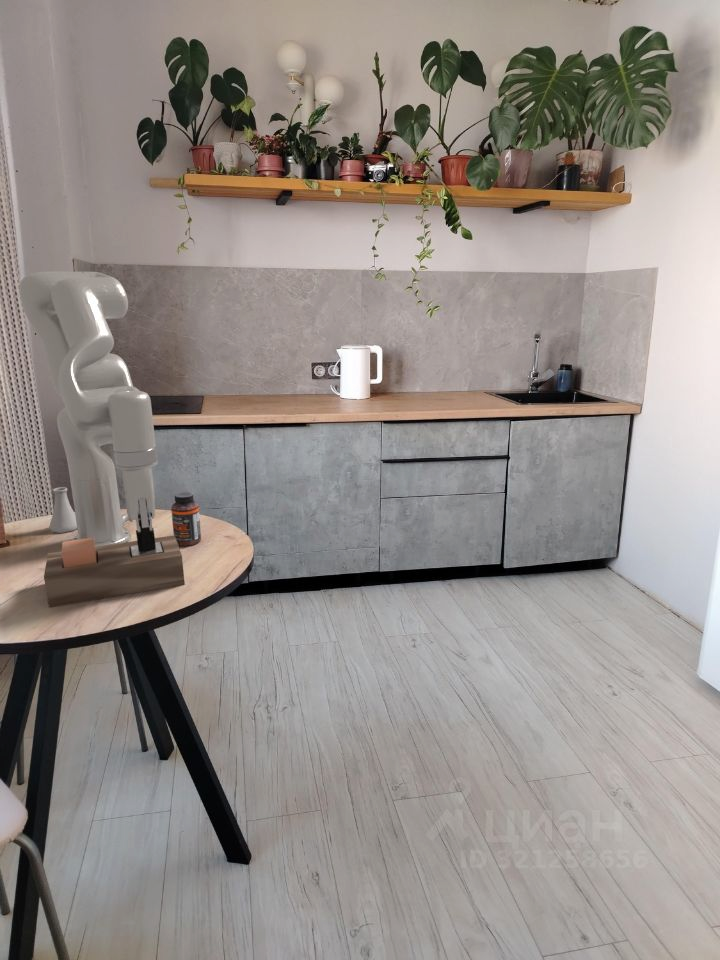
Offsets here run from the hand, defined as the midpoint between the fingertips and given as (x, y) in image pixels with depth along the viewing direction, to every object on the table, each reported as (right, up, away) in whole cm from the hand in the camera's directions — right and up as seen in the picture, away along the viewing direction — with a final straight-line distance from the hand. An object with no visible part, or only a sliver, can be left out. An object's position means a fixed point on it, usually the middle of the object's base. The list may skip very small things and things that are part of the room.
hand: (147, 549), depth 130 cm
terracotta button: (-11, -3, -3) cm, 12 cm away
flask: (-30, +2, +31) cm, 43 cm away
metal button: (0, -5, +2) cm, 5 cm away
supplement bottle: (+3, -1, +21) cm, 21 cm away
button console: (-6, -7, 0) cm, 9 cm away
